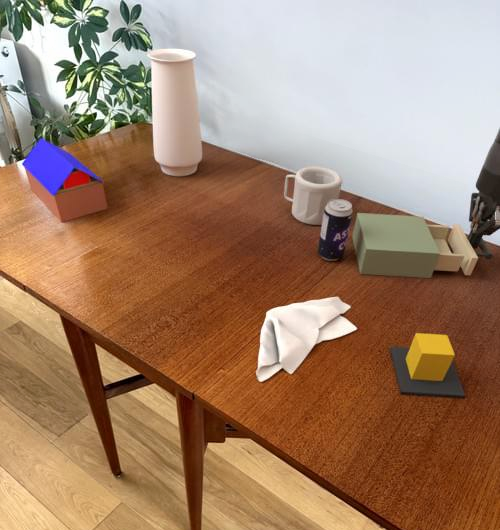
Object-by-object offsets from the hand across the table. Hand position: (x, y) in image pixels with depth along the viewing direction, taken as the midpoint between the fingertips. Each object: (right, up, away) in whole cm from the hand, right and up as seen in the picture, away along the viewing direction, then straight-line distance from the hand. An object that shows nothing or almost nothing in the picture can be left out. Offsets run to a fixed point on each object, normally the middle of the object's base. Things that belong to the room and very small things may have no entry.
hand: (470, 246), depth 98 cm
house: (-92, +14, +16) cm, 94 cm away
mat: (-18, -25, -22) cm, 38 cm away
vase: (-67, +27, +31) cm, 78 cm away
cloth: (-39, -18, -16) cm, 46 cm away
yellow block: (-19, -25, -23) cm, 38 cm away
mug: (-33, +11, +15) cm, 38 cm away
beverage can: (-30, -2, +2) cm, 30 cm away
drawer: (-6, -2, +2) cm, 6 cm away
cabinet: (-17, -2, +3) cm, 17 cm away
